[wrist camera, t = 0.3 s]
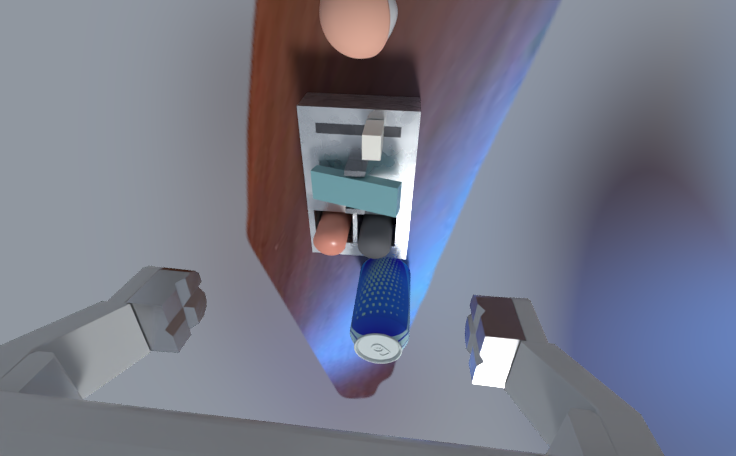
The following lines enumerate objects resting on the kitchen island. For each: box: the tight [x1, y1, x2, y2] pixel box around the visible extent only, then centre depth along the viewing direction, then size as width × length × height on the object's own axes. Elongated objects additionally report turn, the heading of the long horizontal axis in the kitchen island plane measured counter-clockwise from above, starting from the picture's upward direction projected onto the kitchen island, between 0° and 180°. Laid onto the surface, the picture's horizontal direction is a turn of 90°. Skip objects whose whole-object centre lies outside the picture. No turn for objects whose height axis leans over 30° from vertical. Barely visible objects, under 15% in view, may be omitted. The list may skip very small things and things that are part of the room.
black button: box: [358, 214, 393, 259], centre depth 50 cm, size 4×4×6 cm
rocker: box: [311, 165, 402, 218], centre depth 43 cm, size 4×11×2 cm, turn 89°
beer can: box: [350, 258, 410, 364], centre depth 55 cm, size 8×8×16 cm
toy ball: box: [319, 0, 398, 59], centre depth 36 cm, size 8×8×8 cm
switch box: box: [297, 92, 421, 259], centre depth 48 cm, size 22×14×8 cm, turn 179°
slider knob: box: [362, 120, 384, 161], centre depth 40 cm, size 3×2×4 cm
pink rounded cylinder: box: [313, 211, 352, 255], centre depth 50 cm, size 4×4×6 cm
